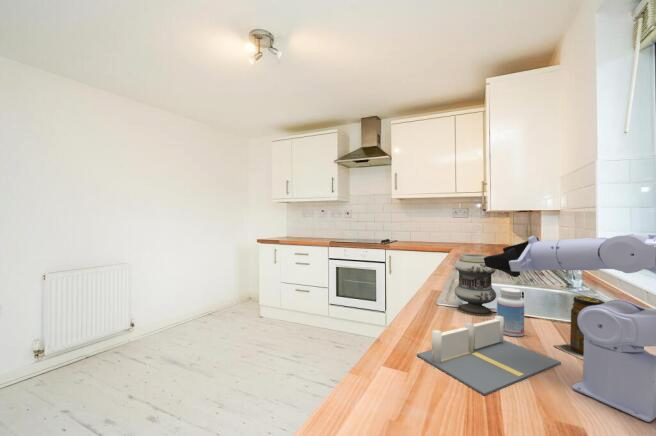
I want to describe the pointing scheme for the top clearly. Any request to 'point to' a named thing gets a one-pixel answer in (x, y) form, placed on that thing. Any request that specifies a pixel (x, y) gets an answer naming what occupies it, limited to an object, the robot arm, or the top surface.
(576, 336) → the condiment
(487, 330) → the fence panel
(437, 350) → the fixed fence section
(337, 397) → the top surface
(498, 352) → the board
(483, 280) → the apothecary jar
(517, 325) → the pill bottle
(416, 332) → the top surface
